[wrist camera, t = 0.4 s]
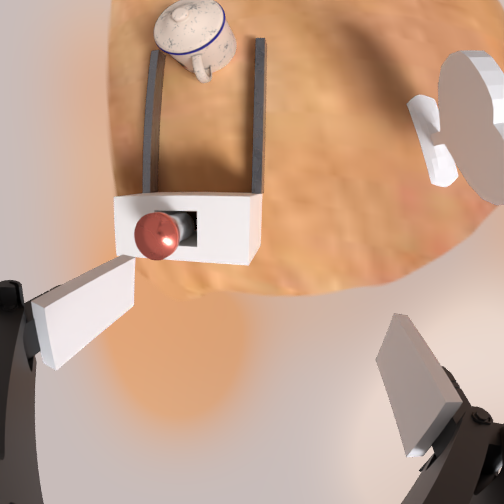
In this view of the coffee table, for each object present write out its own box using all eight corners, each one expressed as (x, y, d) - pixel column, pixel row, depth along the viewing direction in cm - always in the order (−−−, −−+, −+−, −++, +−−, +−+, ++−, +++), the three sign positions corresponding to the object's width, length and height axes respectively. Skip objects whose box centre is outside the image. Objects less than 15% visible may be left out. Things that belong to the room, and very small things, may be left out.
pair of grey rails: (158, 56, 36) (151, 51, 33) (266, 45, 34) (264, 37, 31) (151, 192, 41) (142, 193, 38) (263, 193, 39) (261, 193, 36)
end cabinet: (152, 192, 41) (113, 196, 31) (262, 193, 39) (250, 196, 29) (153, 239, 43) (116, 255, 33) (260, 245, 40) (248, 265, 31)
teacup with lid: (175, 35, 35) (141, 1, 24) (233, 19, 33) (212, -24, 22) (184, 101, 37) (146, 77, 26) (247, 85, 35) (228, 51, 24)
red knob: (164, 206, 33) (133, 212, 26) (200, 206, 32) (175, 213, 25) (165, 243, 34) (135, 258, 27) (200, 245, 33) (176, 261, 26)
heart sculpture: (461, 189, 34) (542, 200, 17) (434, 197, 35) (513, 211, 18) (429, 86, 31) (495, 42, 14) (401, 90, 32) (460, 41, 15)
